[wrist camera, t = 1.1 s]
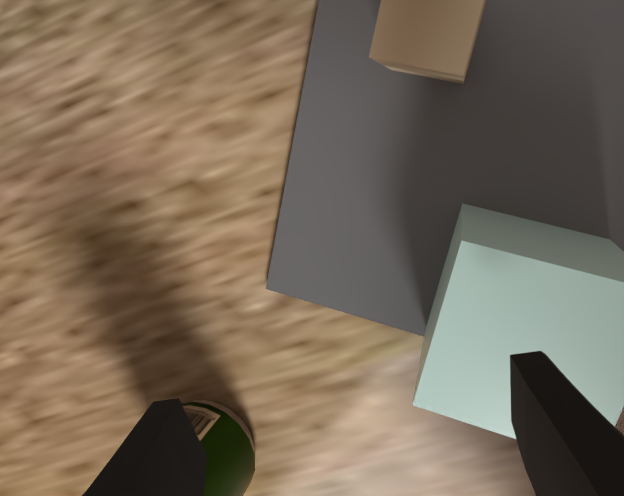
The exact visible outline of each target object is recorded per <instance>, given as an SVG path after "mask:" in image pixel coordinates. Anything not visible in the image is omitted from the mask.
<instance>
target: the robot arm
mask: <svg viewBox="0 0 624 496" xmlns="http://www.w3.org/2000/svg"><path fill="white" fill-rule="evenodd" d="M510 387H511V422H512V426H513V429H514V432H515V436H516V439H517V443H518V446H519V449H520V453H521V456H522V459H523V462H524V465H525V469H526V471H527V474H528V476H529V479H530V481H531V483H532V486H533V488H534V491H535V493H536V495H537V496H624V435H623V434H622V433H621V432H620V431H619V430H618V429H617V428H616V427H614V426H613V425H612V424H611V423H610V422H609V421H608V420H607V419H606V418H605V417H604V416H603V415H602V414H601V413H600V412H599V411H598V410H597V409H596V408H595V407H594V406H593V405H592V404H591V403H590V402H589V401H588V400H587V399H586V398H585V397H584V396H583V395H582V394H581V392H580V391H579V390H578V389H577V388H576V387H575V386H574V385H573V384H572V383H571V382H570V381H569V380H568V379H567V378H566V376H565V375H564V374H563V373H562V372H561V371H560V370H559V369H558V368H557V366H556V365H555V364H554V363H553V362H552V361H551V360H550V358H549V357H548V356H547V355H546V354H545V353H543V352H542V351H535V352H527V353H519V354H512V355H510ZM206 465H207V455H206V453H205V451H204V449H203V446H202V444H201V442H200V440H199V438H198V436H197V434H196V432H195V430H194V428H193V426H192V424H191V422H190V420H189V418H188V416H187V414H186V412H185V410H184V408H183V406H182V404H181V402H180V400H179V399H171V400H163V401H156V402H153V403H152V404H151V406H150V407H149V408H148V410H147V411H146V412H145V414H144V415H143V416H142V418H141V419H140V420H139V422H138V423H137V424H136V426H135V427H134V428H133V430H132V431H131V432H130V434H129V435H128V436H127V438H126V439H125V440H124V442H123V443H122V445H121V446H120V447H119V449H118V450H117V451H116V453H115V454H114V455H113V457H112V458H111V459H110V461H109V462H108V463H107V465H106V466H105V467H104V469H103V470H102V471H101V472H100V474H99V475H98V476H97V478H96V479H95V480H94V482H93V483H92V484H91V486H90V487H89V488H88V489H87V491H86V492H85V493H84V494H83V496H203V494H204V485H205V476H206Z"/></svg>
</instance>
